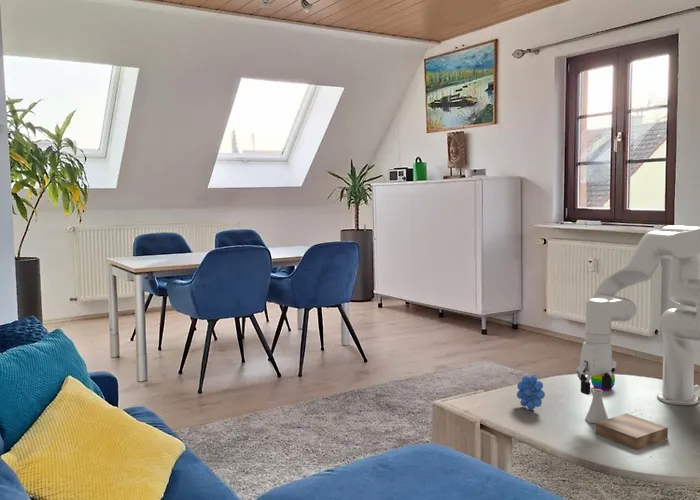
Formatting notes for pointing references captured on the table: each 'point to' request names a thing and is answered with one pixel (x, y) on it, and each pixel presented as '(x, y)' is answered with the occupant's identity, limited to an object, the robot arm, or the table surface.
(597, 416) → the flask
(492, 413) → the table surface
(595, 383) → the decorative egg
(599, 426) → the flat wooden block
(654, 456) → the table surface
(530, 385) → the grapes
